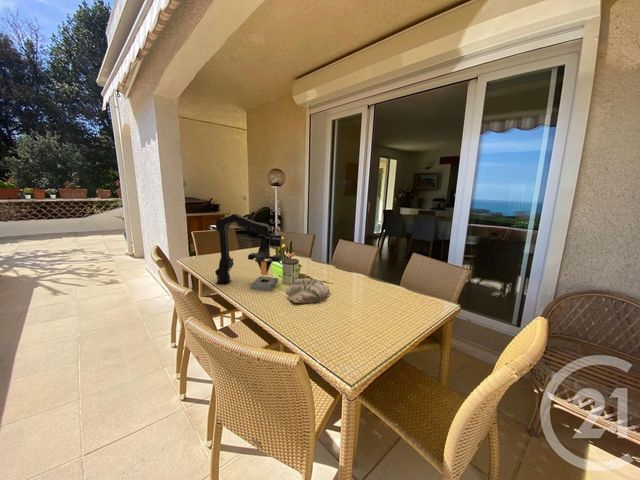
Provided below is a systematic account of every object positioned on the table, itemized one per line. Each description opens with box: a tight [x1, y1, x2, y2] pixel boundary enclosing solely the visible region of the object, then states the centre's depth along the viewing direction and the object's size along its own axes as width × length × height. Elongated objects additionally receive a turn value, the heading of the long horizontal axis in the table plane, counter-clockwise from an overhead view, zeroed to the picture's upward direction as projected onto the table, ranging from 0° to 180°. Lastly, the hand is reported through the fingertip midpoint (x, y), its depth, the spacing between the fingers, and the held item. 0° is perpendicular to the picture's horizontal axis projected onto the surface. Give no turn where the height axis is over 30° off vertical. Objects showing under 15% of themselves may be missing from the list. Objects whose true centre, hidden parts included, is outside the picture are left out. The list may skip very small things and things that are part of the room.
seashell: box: [285, 277, 332, 304], centre depth 141 cm, size 28×18×15 cm, turn 134°
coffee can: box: [281, 258, 300, 286], centre depth 160 cm, size 10×10×14 cm
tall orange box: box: [260, 259, 269, 276], centre depth 151 cm, size 3×3×8 cm
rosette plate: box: [249, 275, 279, 292], centre depth 153 cm, size 12×14×4 cm
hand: (264, 271), depth 152 cm, fingers closed on tall orange box, 3 cm apart
